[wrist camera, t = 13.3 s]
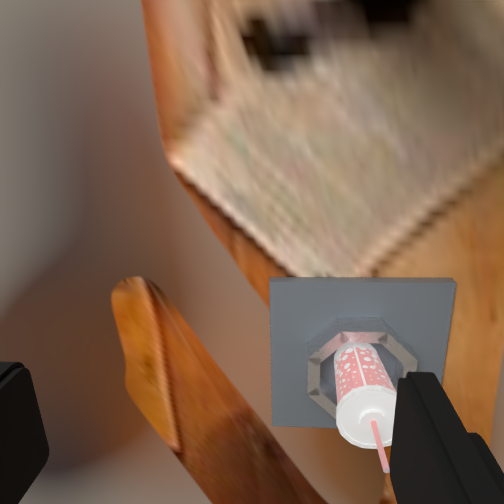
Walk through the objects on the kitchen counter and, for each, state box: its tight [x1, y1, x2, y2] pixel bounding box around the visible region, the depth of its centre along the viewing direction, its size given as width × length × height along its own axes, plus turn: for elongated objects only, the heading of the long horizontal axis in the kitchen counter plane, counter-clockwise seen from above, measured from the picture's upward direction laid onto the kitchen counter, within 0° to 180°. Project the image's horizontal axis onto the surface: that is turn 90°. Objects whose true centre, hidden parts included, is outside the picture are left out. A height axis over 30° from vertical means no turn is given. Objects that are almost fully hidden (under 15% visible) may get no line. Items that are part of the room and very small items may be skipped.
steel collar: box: [306, 316, 418, 419], centre depth 41 cm, size 10×10×3 cm
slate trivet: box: [269, 277, 456, 428], centre depth 43 cm, size 18×18×1 cm
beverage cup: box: [334, 343, 397, 473], centre depth 36 cm, size 6×6×14 cm
